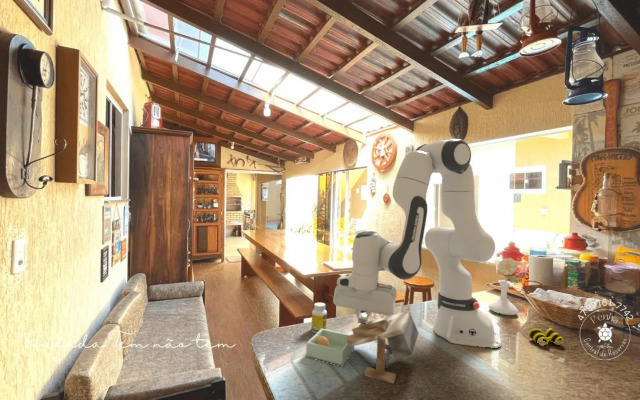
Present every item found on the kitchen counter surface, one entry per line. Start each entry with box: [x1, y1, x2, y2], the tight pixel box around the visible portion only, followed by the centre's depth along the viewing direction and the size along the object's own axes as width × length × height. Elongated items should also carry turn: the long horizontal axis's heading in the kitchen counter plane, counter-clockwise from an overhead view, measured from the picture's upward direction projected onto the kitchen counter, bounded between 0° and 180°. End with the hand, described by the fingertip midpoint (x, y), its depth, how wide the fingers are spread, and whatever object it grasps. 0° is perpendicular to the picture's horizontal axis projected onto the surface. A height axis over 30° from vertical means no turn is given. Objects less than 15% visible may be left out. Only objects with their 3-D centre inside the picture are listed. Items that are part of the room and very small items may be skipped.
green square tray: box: [305, 328, 355, 367], centre depth 100 cm, size 12×12×4 cm
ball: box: [316, 336, 329, 347], centre depth 101 cm, size 4×4×4 cm
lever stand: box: [364, 313, 397, 384], centre depth 97 cm, size 8×22×11 cm, turn 156°
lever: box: [346, 310, 419, 359], centre depth 97 cm, size 17×16×9 cm
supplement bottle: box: [310, 302, 328, 334], centre depth 116 cm, size 5×5×10 cm
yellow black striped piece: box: [527, 327, 564, 345], centre depth 112 cm, size 10×5×5 cm, turn 96°
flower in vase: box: [488, 257, 519, 316], centre depth 140 cm, size 13×11×25 cm
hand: (362, 323), depth 104 cm, fingers closed
